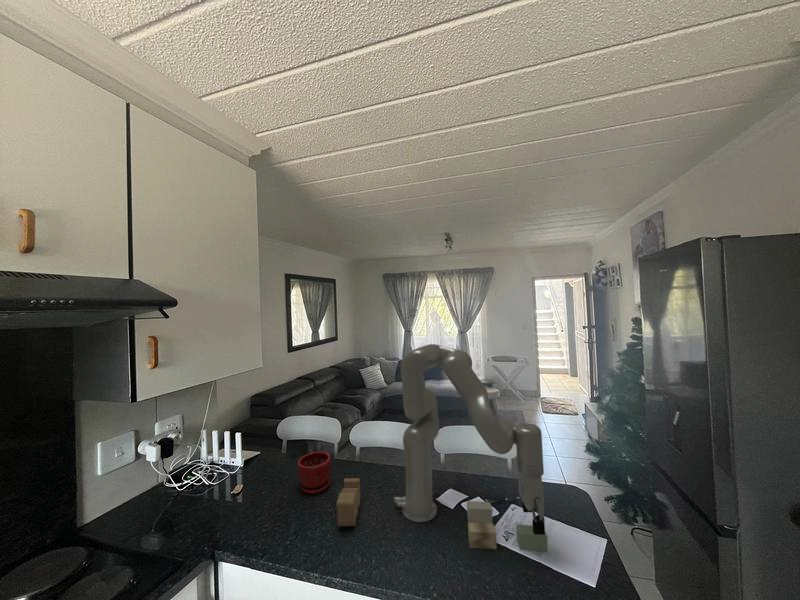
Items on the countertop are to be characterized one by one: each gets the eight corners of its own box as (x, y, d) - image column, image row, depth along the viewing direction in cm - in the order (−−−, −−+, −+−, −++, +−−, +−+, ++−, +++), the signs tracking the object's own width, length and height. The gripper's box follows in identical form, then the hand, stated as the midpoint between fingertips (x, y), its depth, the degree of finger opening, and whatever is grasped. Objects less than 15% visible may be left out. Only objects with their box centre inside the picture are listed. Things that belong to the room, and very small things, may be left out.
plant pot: (317, 475, 137) (316, 448, 138) (337, 485, 130) (337, 456, 130) (291, 490, 127) (291, 460, 127) (312, 501, 119) (311, 470, 119)
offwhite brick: (468, 523, 106) (468, 508, 106) (467, 515, 110) (467, 500, 110) (492, 524, 105) (492, 509, 105) (490, 516, 109) (490, 502, 109)
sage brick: (519, 550, 94) (519, 533, 94) (516, 540, 98) (516, 524, 98) (547, 552, 92) (547, 536, 92) (543, 542, 96) (542, 526, 96)
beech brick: (470, 548, 95) (469, 531, 95) (468, 538, 99) (468, 522, 99) (496, 549, 94) (496, 533, 94) (493, 539, 98) (493, 523, 98)
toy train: (360, 500, 119) (360, 474, 119) (353, 533, 102) (352, 502, 102) (346, 500, 119) (346, 474, 119) (336, 533, 102) (336, 502, 102)
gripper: (510, 452, 104) (513, 504, 104) (526, 481, 87) (530, 543, 87) (533, 452, 104) (536, 504, 103) (554, 481, 86) (557, 544, 86)
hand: (533, 522), depth 95 cm, fingers open, 9 cm apart
